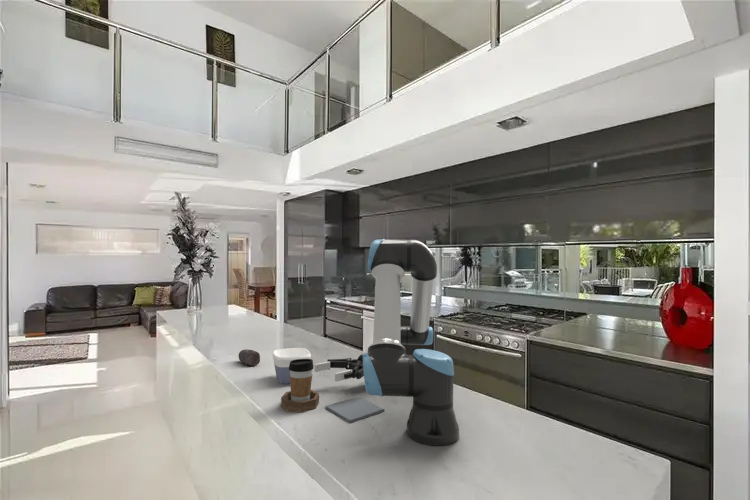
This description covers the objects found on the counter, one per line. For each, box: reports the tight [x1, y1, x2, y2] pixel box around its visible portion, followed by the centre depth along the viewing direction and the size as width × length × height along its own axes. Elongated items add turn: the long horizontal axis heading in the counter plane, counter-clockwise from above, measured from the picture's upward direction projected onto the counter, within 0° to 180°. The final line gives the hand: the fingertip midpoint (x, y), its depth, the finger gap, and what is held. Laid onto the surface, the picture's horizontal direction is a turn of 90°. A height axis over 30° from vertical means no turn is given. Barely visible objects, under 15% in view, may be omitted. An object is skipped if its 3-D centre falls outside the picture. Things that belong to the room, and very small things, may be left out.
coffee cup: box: [289, 358, 314, 402], centre depth 125 cm, size 8×8×15 cm
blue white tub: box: [272, 347, 312, 385], centre depth 151 cm, size 15×15×11 cm
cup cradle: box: [280, 389, 320, 413], centre depth 125 cm, size 12×12×3 cm
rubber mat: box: [324, 396, 385, 424], centre depth 121 cm, size 14×14×1 cm
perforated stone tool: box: [238, 348, 261, 367], centre depth 172 cm, size 15×5×7 cm, turn 48°
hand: (324, 372), depth 131 cm, fingers open, 13 cm apart
